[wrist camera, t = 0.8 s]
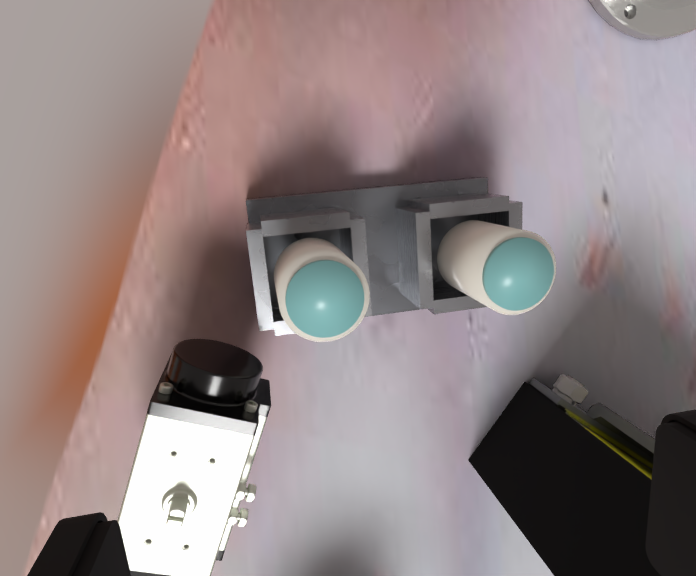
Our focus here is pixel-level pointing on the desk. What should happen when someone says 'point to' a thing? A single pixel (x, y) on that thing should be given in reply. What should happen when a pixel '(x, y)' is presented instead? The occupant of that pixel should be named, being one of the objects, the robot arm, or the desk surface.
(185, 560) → the pneumatic valve
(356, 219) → the mount
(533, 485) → the electrical component
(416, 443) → the desk surface
